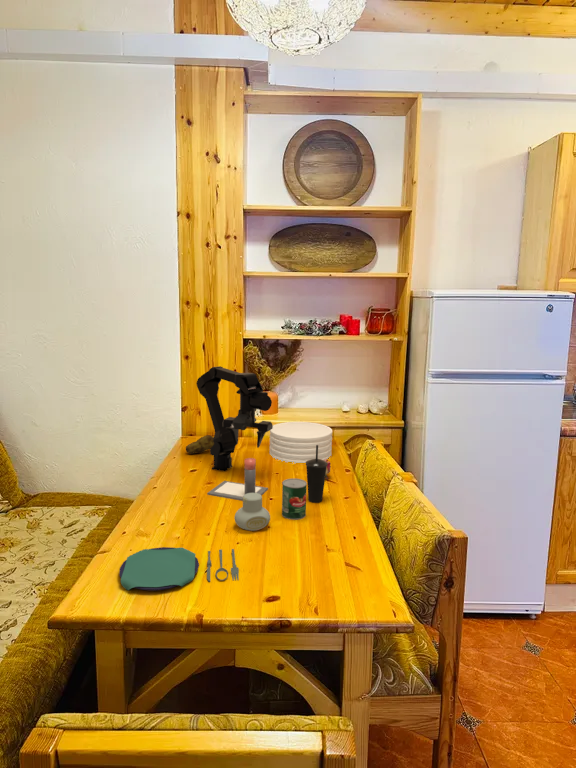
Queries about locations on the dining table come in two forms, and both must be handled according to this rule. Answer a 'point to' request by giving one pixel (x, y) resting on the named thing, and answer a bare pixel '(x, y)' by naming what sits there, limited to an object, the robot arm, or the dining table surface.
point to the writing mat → (233, 490)
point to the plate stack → (300, 441)
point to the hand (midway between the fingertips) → (247, 445)
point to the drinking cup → (316, 478)
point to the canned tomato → (294, 499)
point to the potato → (200, 445)
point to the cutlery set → (165, 568)
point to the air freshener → (252, 513)
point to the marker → (250, 475)
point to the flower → (327, 468)
